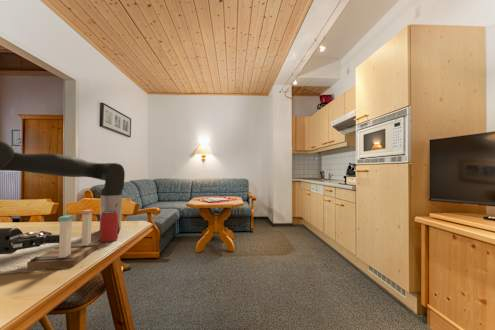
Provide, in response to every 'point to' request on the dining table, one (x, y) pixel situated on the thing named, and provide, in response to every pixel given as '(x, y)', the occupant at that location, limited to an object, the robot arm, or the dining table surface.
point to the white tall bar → (86, 226)
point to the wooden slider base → (54, 261)
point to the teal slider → (65, 235)
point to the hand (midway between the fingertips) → (62, 238)
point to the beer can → (108, 226)
